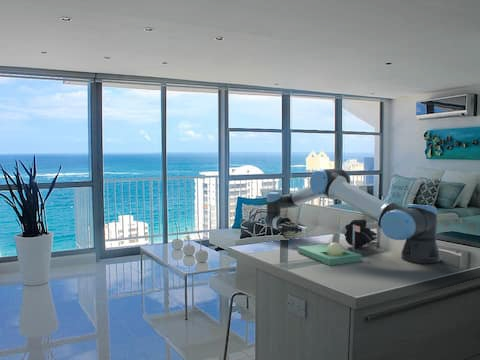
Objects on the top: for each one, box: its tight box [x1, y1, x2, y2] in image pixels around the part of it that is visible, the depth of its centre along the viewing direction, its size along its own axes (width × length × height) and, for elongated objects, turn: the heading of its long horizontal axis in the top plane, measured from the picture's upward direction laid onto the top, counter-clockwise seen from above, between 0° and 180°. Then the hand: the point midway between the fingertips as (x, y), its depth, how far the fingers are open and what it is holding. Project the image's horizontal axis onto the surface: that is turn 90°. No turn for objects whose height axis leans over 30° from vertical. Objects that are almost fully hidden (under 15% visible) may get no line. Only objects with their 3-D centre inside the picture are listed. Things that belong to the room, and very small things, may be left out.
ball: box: [327, 241, 344, 257], centre depth 177 cm, size 7×7×7 cm
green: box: [297, 243, 363, 266], centre depth 181 cm, size 24×16×2 cm, turn 23°
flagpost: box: [352, 225, 360, 253], centre depth 178 cm, size 4×1×14 cm, turn 23°
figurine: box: [339, 219, 381, 249], centre depth 199 cm, size 14×13×30 cm
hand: (306, 230), depth 196 cm, fingers closed
